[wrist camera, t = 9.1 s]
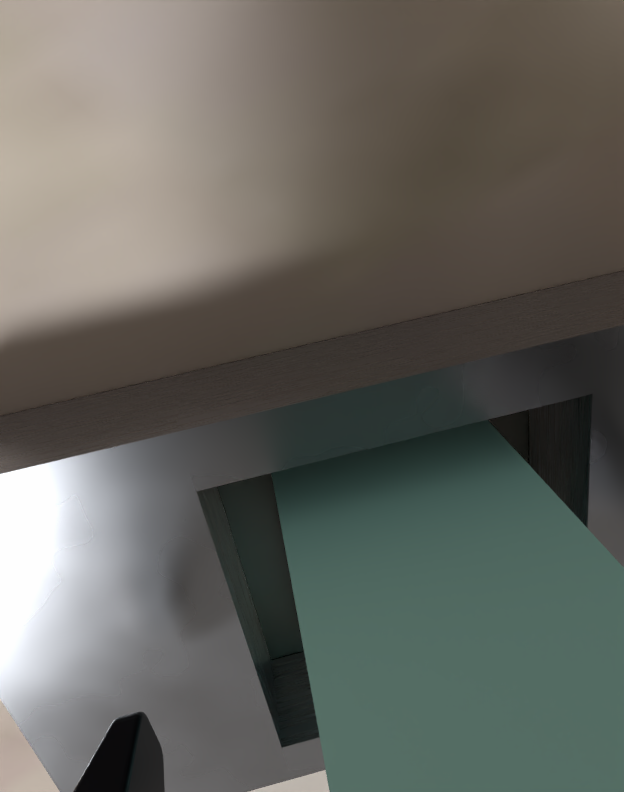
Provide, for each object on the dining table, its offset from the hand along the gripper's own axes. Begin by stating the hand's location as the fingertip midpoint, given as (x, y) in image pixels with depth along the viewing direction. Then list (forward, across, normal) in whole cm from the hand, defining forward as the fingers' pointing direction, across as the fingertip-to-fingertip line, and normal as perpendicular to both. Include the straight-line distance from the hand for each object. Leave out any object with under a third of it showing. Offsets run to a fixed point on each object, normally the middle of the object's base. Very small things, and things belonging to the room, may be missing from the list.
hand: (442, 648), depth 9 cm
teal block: (+3, 0, 0) cm, 3 cm away
